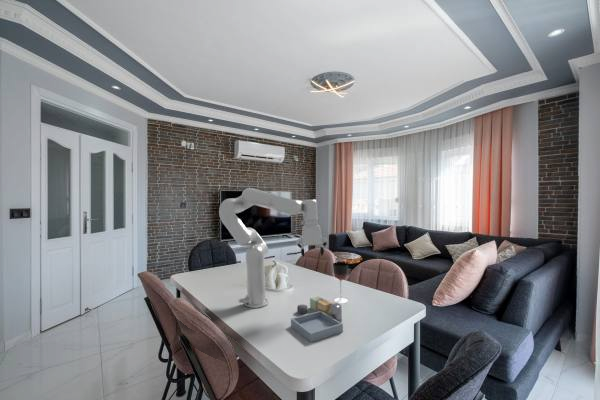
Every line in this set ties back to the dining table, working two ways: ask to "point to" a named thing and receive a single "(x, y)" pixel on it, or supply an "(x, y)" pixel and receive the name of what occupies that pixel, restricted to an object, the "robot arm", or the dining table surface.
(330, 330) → the tray
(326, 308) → the oak block
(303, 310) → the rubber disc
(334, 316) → the metal cylinder
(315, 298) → the sage block
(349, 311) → the dining table surface
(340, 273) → the wineglass
